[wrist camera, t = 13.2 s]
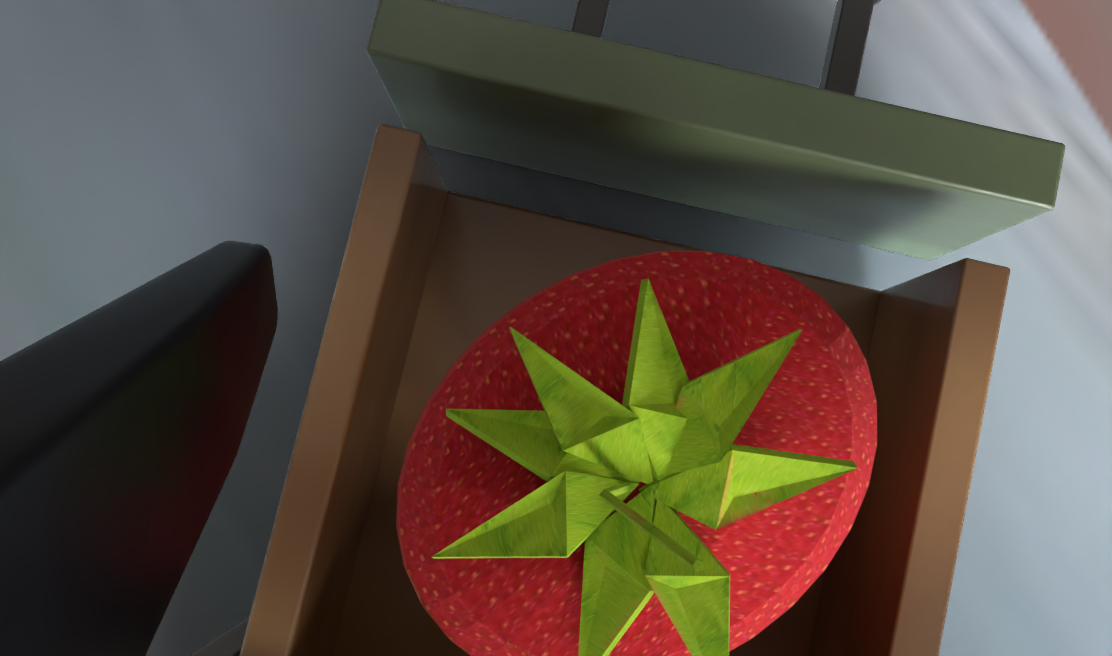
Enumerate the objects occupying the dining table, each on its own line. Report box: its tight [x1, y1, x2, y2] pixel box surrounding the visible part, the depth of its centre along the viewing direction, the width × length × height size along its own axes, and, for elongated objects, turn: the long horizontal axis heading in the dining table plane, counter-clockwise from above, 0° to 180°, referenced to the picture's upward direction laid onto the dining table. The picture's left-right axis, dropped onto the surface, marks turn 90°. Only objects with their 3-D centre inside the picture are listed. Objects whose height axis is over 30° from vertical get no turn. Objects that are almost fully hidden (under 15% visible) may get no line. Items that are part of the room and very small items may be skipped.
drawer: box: [239, 0, 1065, 656], centre depth 18 cm, size 20×12×5 cm, turn 167°
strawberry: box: [396, 251, 877, 656], centre depth 14 cm, size 6×8×10 cm
